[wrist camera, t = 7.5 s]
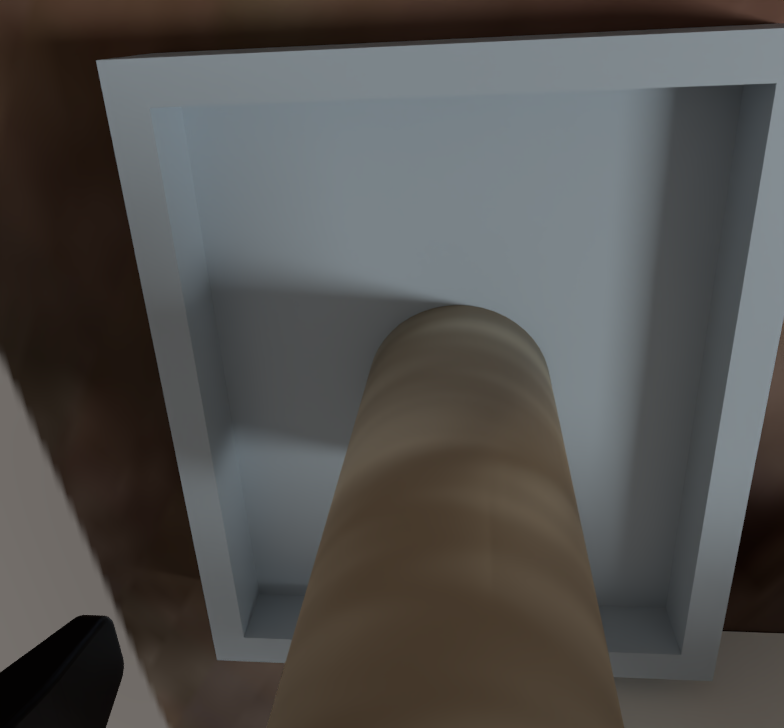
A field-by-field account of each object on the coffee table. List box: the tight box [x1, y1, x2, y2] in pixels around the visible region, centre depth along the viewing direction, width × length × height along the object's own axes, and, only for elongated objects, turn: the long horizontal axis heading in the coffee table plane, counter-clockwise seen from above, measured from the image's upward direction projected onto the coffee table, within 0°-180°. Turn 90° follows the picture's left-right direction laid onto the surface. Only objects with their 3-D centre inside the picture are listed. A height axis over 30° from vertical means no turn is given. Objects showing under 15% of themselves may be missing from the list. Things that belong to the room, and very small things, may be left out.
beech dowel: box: [267, 305, 624, 728], centre depth 11 cm, size 4×4×11 cm
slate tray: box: [96, 23, 784, 681], centre depth 16 cm, size 12×14×2 cm
